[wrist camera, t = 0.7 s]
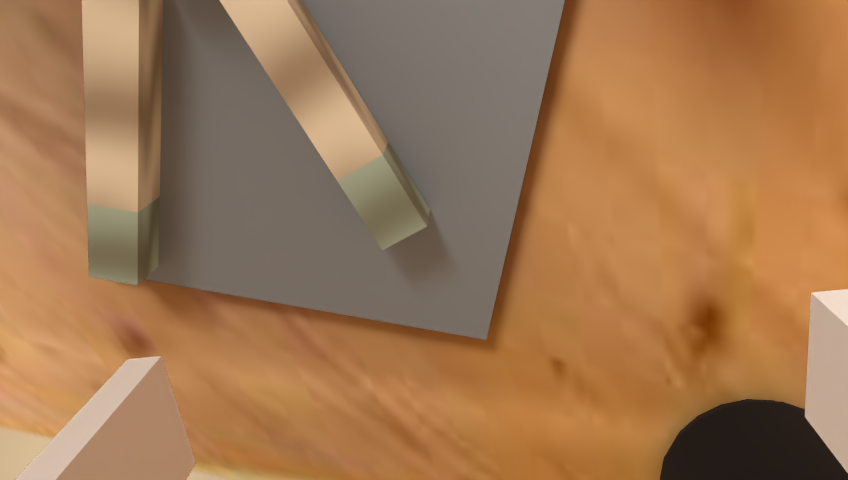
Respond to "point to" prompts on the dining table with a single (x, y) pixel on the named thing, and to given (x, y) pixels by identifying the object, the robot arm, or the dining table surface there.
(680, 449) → the coffee jar
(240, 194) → the board
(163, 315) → the dining table surface
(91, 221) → the tongs base
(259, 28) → the bar
